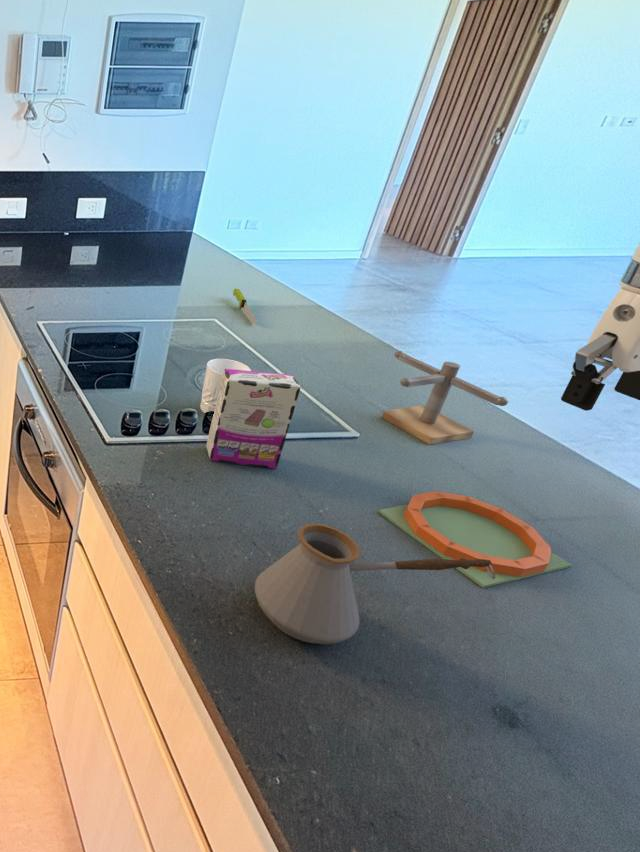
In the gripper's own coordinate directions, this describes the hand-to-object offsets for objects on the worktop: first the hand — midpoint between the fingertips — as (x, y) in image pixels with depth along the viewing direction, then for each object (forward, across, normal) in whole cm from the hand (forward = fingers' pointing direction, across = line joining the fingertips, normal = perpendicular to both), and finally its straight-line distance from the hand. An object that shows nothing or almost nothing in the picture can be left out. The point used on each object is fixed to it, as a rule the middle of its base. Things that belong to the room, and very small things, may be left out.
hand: (602, 400), depth 83 cm
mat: (+23, -11, +1) cm, 25 cm away
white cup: (+22, -23, +42) cm, 53 cm away
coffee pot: (+22, -43, -8) cm, 49 cm away
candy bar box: (+22, -30, +27) cm, 46 cm away
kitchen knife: (+23, +20, +87) cm, 92 cm away
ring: (+21, -10, +1) cm, 24 cm away
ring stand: (+23, +10, +27) cm, 37 cm away
